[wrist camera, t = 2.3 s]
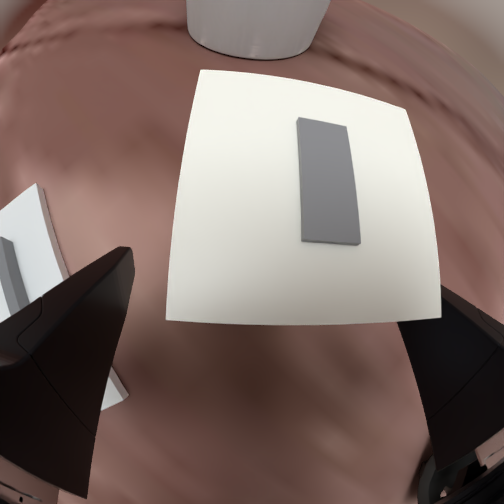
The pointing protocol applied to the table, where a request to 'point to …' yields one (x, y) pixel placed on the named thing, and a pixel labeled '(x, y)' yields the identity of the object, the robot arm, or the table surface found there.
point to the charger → (299, 209)
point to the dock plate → (35, 264)
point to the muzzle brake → (439, 479)
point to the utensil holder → (255, 26)
